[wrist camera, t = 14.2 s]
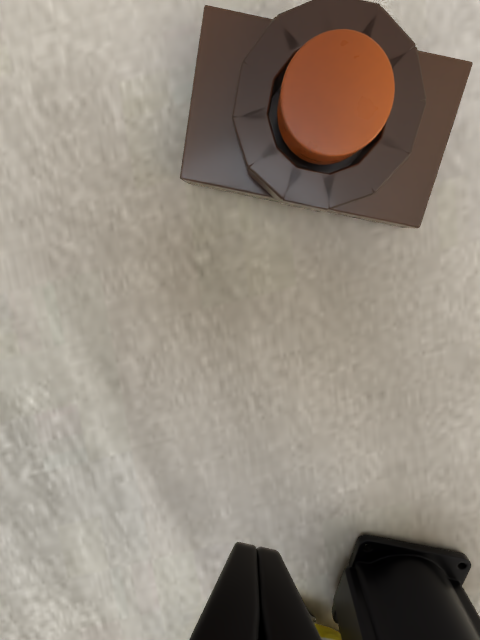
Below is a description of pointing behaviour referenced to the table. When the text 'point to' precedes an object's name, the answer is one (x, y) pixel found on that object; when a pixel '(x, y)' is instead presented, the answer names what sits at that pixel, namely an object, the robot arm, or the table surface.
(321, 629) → the yellow striped curved toy
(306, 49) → the button
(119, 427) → the table surface
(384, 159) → the button block
